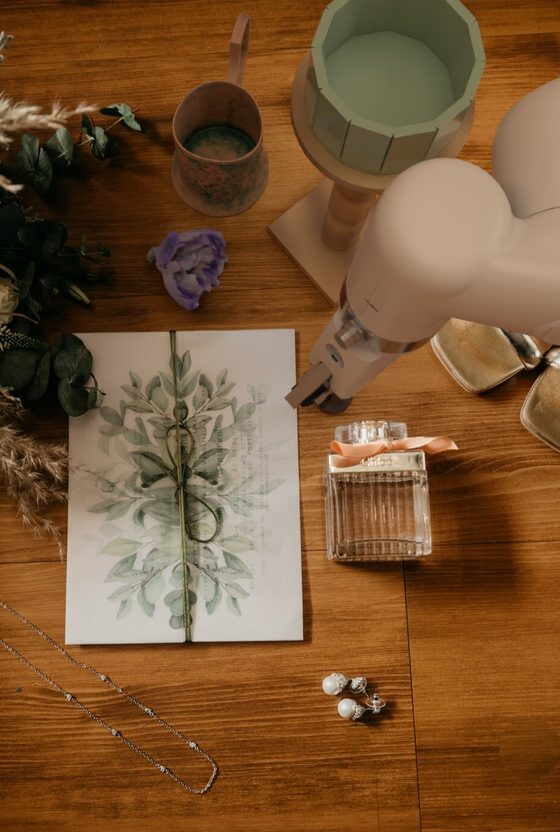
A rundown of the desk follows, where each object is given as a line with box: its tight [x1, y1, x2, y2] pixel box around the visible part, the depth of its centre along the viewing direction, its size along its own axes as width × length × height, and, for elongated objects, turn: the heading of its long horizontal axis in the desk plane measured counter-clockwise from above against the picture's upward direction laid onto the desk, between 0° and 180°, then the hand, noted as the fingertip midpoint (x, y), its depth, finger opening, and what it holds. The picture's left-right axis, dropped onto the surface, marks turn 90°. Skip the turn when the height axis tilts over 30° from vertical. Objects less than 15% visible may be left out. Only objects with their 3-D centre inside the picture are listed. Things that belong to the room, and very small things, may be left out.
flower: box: [146, 227, 229, 312], centre depth 80 cm, size 9×9×10 cm
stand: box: [266, 48, 476, 308], centre depth 71 cm, size 15×15×26 cm
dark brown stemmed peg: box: [317, 381, 353, 416], centre depth 77 cm, size 4×4×12 cm
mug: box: [170, 12, 270, 218], centre depth 79 cm, size 12×18×12 cm, turn 166°
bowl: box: [304, 0, 487, 175], centre depth 56 cm, size 13×13×6 cm
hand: (352, 361), depth 66 cm, fingers open, 9 cm apart
